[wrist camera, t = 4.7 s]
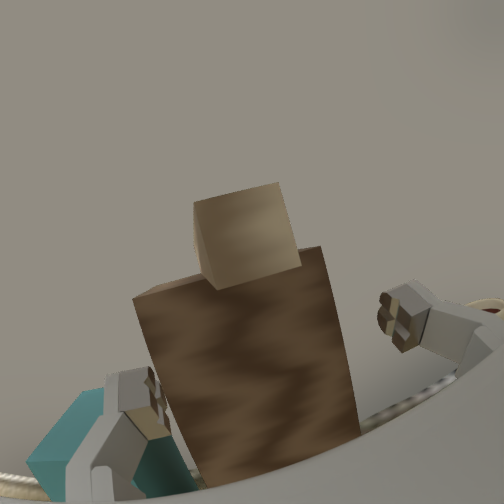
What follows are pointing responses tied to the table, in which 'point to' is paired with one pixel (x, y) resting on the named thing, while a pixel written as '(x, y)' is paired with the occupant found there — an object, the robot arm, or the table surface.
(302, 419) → the pillar
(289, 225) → the baton
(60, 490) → the teal rectangular block
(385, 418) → the table surface
